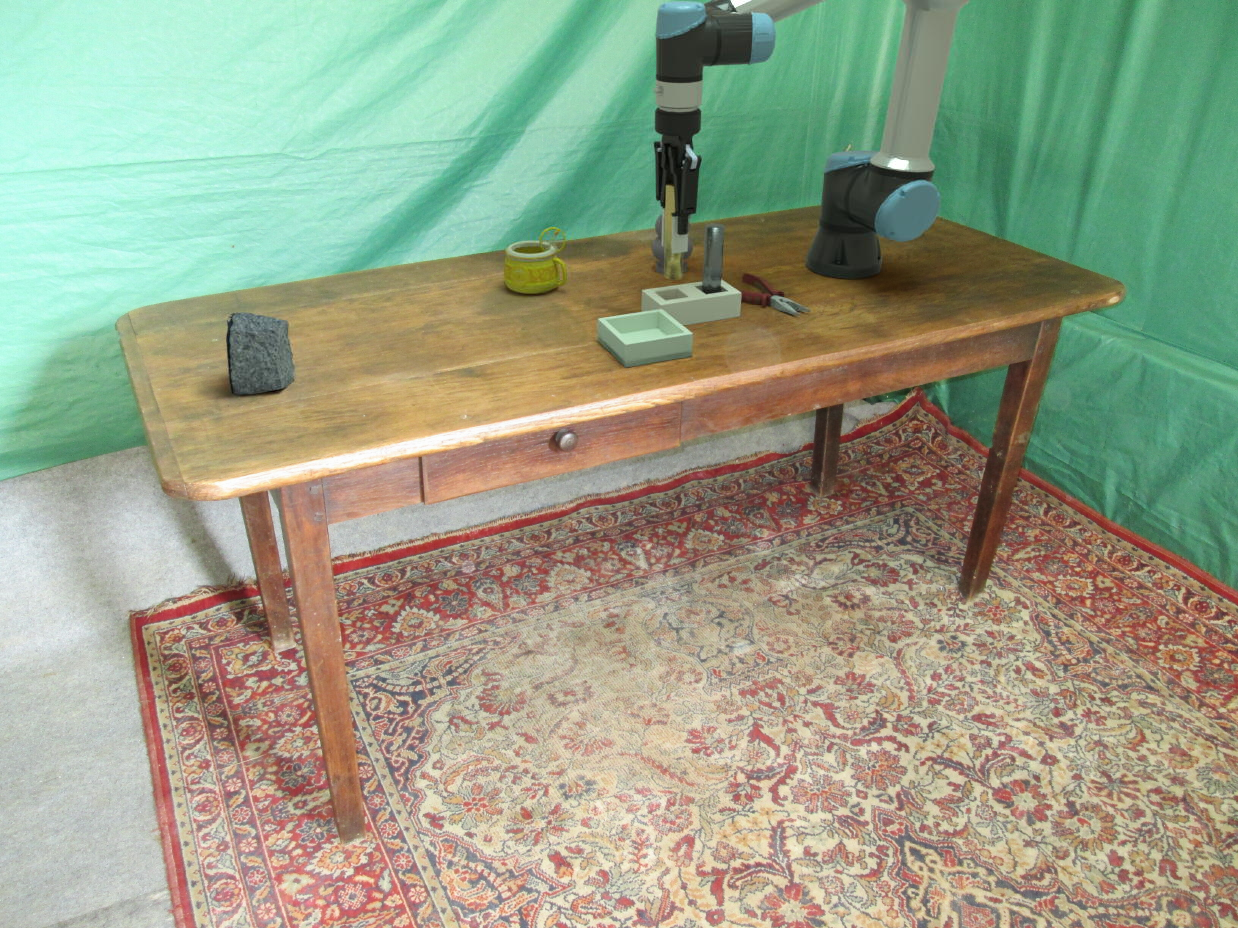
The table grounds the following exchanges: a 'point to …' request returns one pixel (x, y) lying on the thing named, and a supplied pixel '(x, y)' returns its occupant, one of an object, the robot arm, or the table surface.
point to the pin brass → (671, 260)
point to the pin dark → (713, 258)
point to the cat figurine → (659, 249)
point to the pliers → (768, 296)
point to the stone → (258, 353)
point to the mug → (534, 265)
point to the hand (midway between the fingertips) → (674, 248)
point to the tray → (644, 337)
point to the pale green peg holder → (693, 302)
